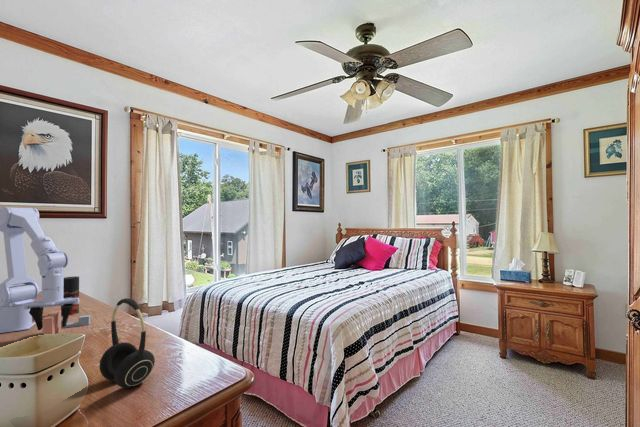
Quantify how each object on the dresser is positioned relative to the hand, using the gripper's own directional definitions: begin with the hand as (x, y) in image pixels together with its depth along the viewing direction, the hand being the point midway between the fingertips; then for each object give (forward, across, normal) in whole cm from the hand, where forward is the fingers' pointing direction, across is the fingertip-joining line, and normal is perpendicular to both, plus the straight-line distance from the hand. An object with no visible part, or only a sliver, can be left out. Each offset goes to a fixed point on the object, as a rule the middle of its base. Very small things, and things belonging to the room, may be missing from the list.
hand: (52, 327), depth 106 cm
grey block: (+2, +4, +8) cm, 9 cm away
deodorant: (+3, -1, +28) cm, 28 cm away
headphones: (+3, +26, -49) cm, 56 cm away
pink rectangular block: (+2, 0, 0) cm, 2 cm away
